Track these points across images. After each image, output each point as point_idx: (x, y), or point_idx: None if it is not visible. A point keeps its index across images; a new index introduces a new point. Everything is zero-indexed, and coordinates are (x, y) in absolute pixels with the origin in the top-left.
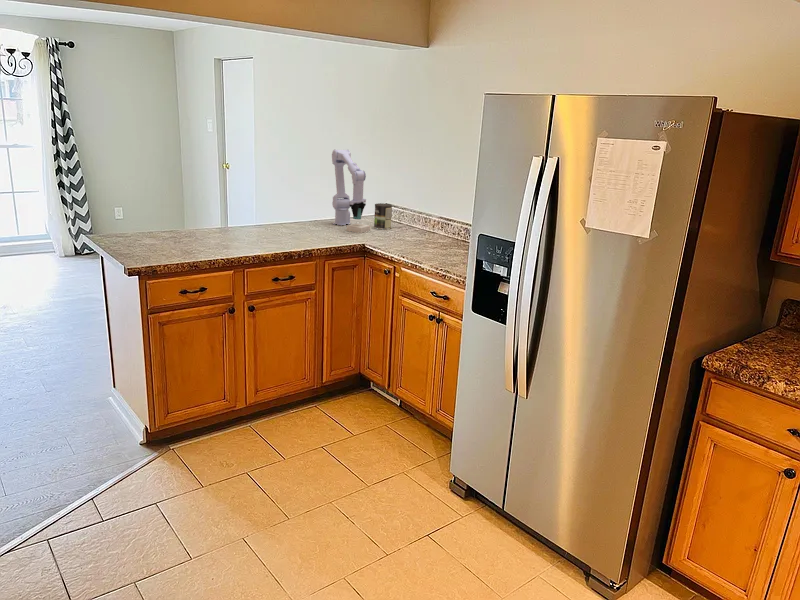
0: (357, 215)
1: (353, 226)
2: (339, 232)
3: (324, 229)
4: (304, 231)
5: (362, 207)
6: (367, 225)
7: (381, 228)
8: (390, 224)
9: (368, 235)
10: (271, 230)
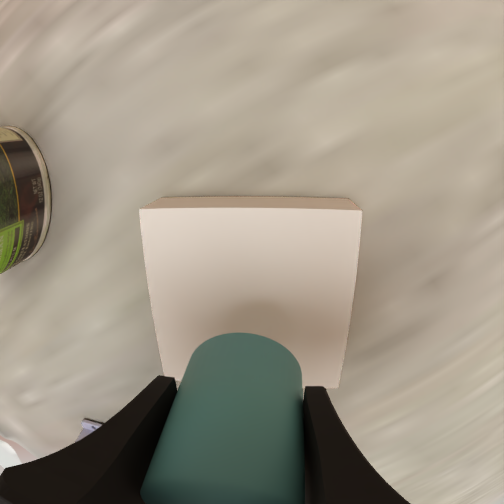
0: (291, 397)
1: (334, 324)
2: (423, 354)
3: (367, 454)
4: (464, 458)
5: (109, 478)
6: (153, 240)
7: (38, 161)
8: None
9: (399, 81)
10: (475, 497)
